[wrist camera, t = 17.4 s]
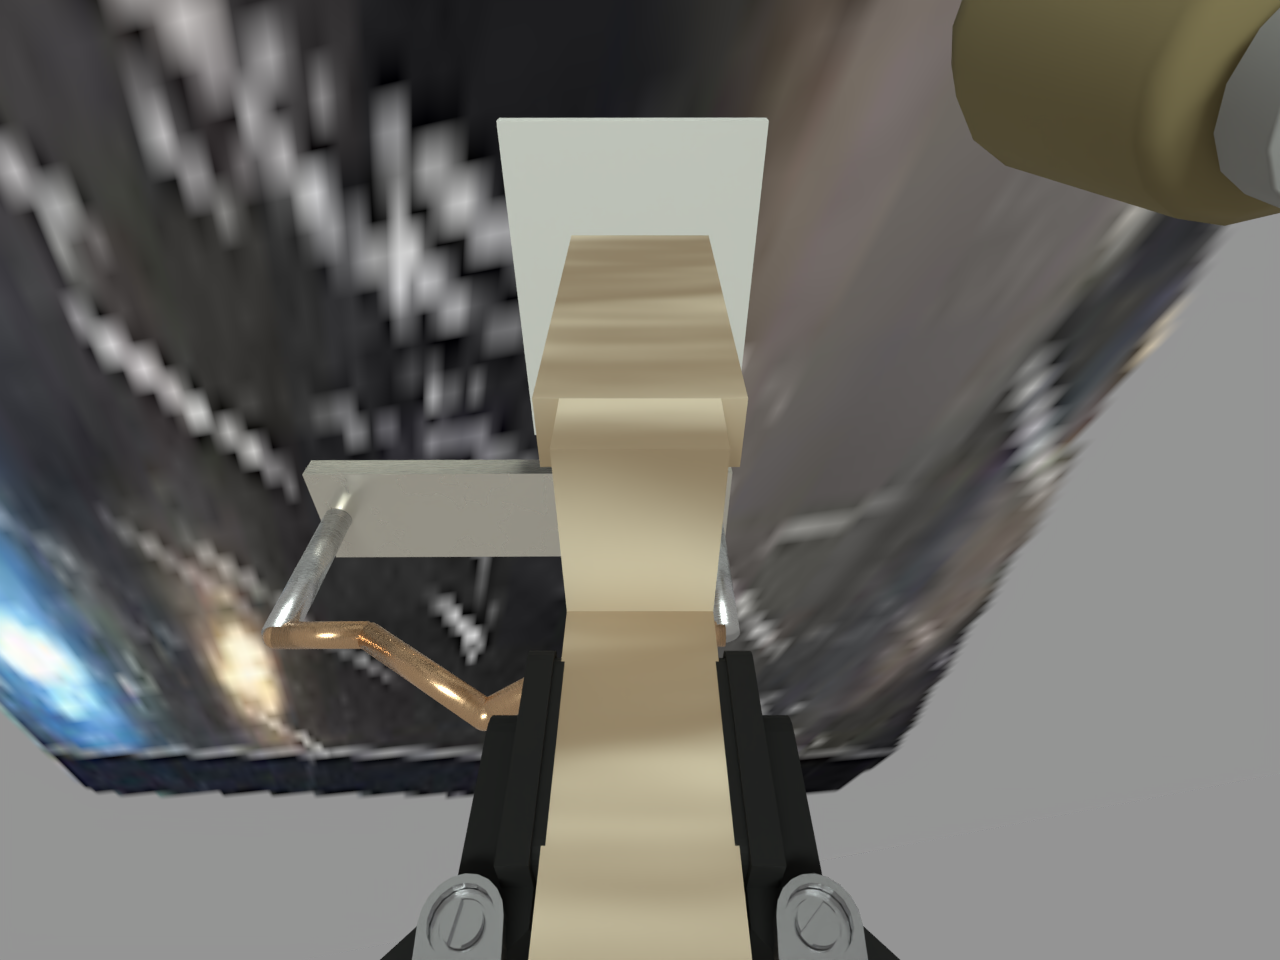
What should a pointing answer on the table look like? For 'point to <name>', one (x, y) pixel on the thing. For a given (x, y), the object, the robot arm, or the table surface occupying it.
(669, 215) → the pad
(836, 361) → the table surface
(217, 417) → the table surface
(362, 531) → the wire
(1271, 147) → the squeeze bottle
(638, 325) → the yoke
